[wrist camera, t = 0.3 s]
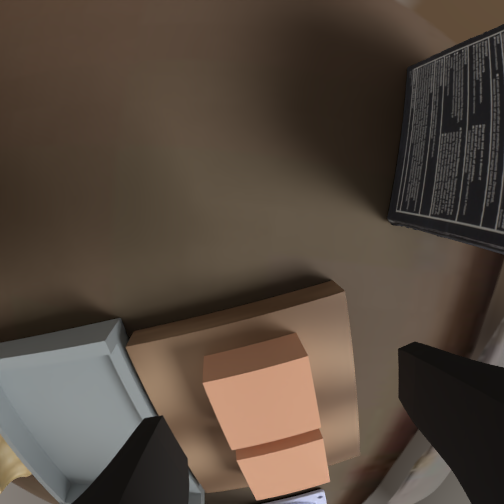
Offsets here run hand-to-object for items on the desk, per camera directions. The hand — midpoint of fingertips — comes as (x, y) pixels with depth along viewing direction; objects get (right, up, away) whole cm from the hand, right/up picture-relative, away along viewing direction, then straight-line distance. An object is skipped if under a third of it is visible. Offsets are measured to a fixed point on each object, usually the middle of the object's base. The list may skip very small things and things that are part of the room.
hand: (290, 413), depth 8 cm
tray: (-14, -9, +10) cm, 19 cm away
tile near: (-1, -3, +8) cm, 9 cm away
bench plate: (-1, -5, +11) cm, 12 cm away
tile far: (+1, -8, +10) cm, 13 cm away
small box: (+11, +11, +9) cm, 18 cm away
